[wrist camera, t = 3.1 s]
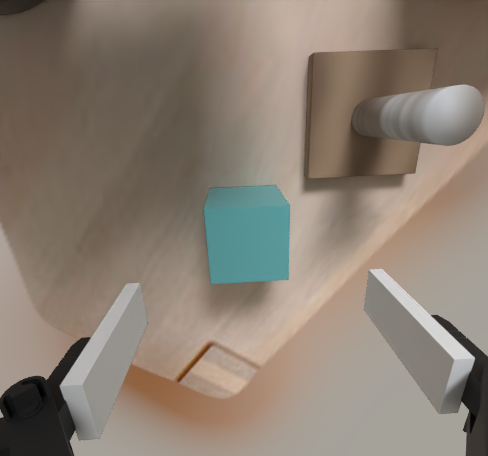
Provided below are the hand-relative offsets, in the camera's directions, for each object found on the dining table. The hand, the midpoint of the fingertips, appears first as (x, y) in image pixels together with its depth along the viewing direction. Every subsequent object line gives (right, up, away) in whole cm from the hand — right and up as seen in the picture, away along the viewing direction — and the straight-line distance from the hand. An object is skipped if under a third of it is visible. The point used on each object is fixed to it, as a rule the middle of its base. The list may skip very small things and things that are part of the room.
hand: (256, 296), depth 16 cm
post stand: (+10, +14, +9) cm, 20 cm away
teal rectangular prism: (-1, +5, +12) cm, 13 cm away
